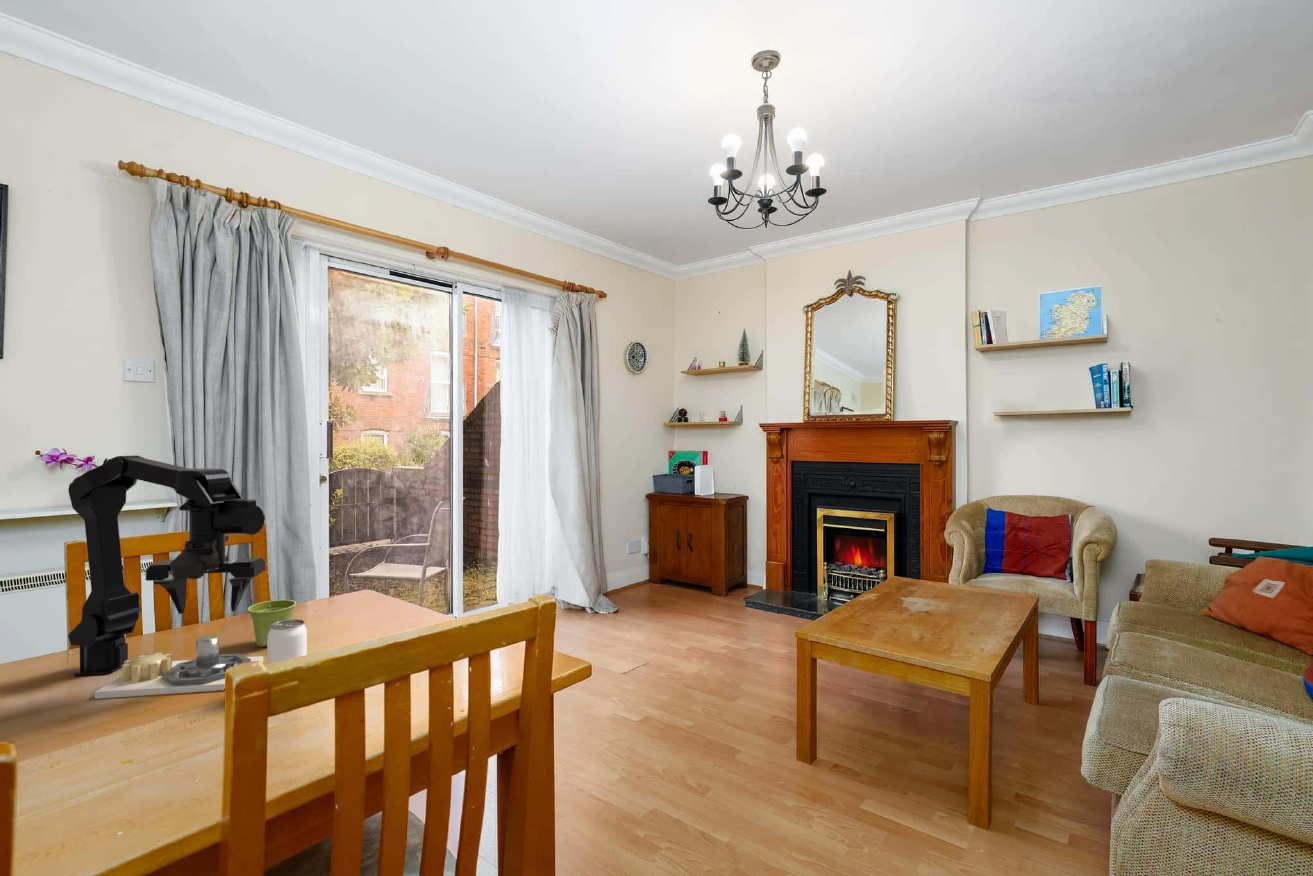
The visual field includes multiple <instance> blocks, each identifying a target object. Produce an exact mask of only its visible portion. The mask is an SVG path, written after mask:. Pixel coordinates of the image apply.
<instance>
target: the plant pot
mask: <svg viewBox="0 0 1313 876" xmlns="http://www.w3.org/2000/svg"><path fill="white" fill-rule="evenodd" d="M296 606H297V601H296V600H291V599H275V600H267V601H263V602H262V601H261V602H258V603H254V604H253V605H250V606H249V607H248V608H247V612H248V613H250V615H249V616H250V618H251V619H252V625H253V631H254V637H255V644H256V646H257V647H259V648H263V647H267V638H268V633H269V631H270V629H271V628H270V626H271V625H272V624H274V623H276V622H280V621H285V620H292V616H293V612H294V609H295V607H296Z"/></svg>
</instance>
